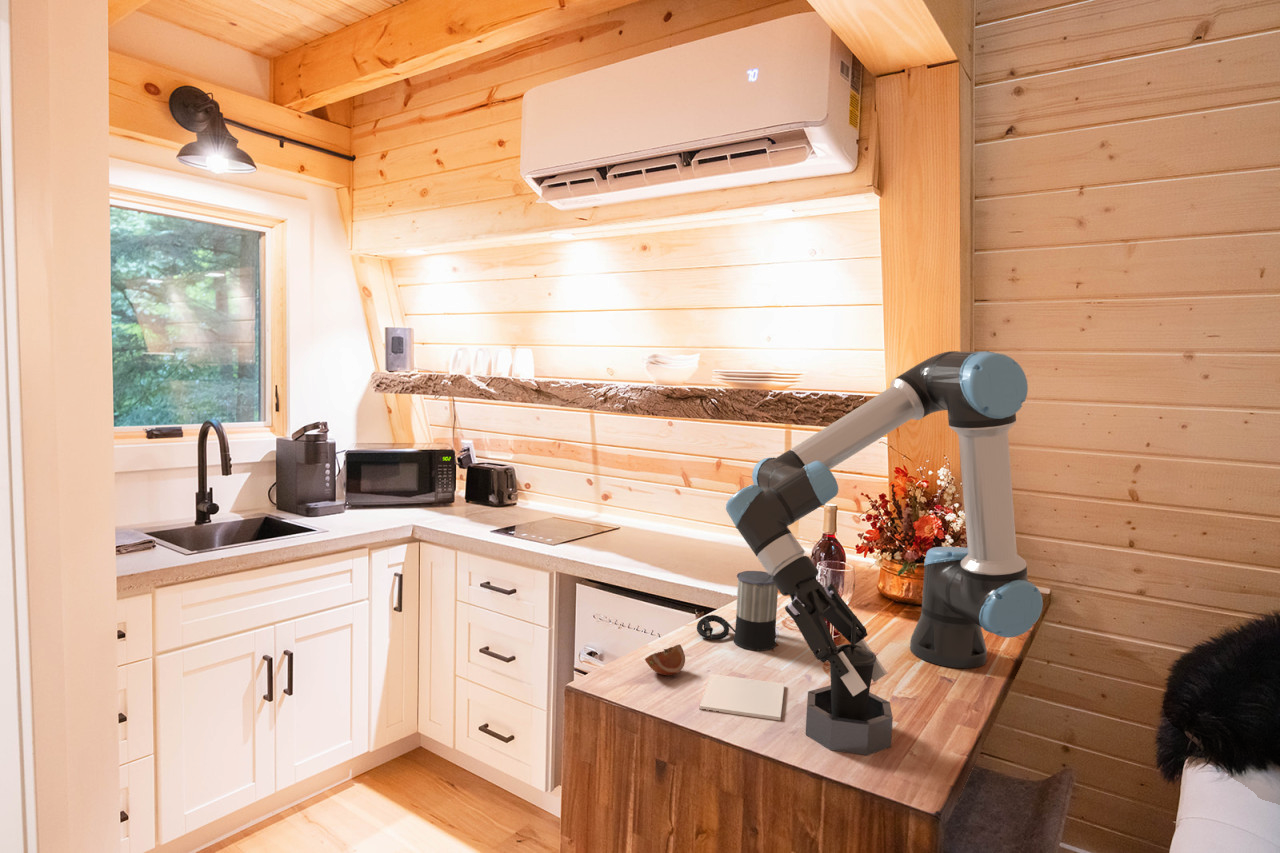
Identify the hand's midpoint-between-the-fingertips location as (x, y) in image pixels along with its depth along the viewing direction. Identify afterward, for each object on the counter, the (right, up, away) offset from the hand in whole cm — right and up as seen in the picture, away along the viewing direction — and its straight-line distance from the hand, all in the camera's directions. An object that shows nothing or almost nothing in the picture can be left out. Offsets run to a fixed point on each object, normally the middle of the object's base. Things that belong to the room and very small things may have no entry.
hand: (870, 684), depth 126 cm
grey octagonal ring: (-3, -9, +3) cm, 10 cm away
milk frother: (-17, -5, +43) cm, 46 cm away
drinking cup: (-3, -9, +3) cm, 10 cm away
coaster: (-19, -7, +15) cm, 25 cm away
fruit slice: (-33, -6, +24) cm, 41 cm away
